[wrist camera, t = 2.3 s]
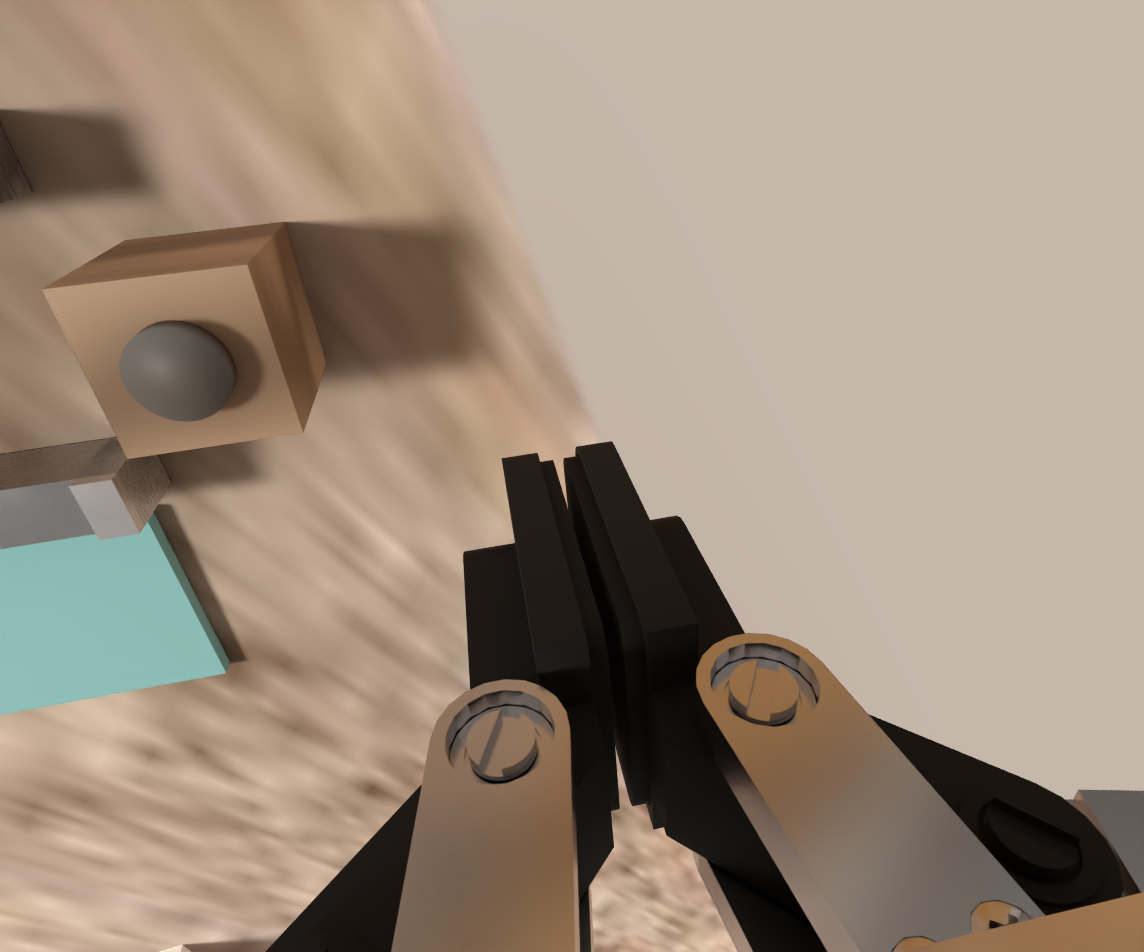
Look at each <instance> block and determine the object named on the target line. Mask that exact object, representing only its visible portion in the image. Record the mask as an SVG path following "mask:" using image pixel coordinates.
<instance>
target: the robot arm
mask: <svg viewBox="0 0 1144 952" xmlns="http://www.w3.org/2000/svg"><path fill="white" fill-rule="evenodd" d="M575 455H576V456H575V457H569V458H564V474H565V483H566V493H567V503H568V508H567V505H566V501H565V498H564V495H563V491H562V488H561V485H560V481H559V478H558V475H557V471H556V468H555V465H554V462H553V460H550V461H543V462H540V460H539V456H538V453H533V454H527V455H521V456H514V457H508V458H502V463H503V470H504V476H505V482H506V489H507V495H508V501H509V508H510V514H511V520H512V527H513V533H514V539H515V543H513V544H507V545H501V546H495V547H489V548H483V549H477V550H471V551H465V552H464V554H463V563H464V581H465V600H466V619H467V638H468V656H469V675H470V690H469V691H466V692H465V693H463V694H462V695H461V696H460V697H458V698H457V699H456V700H455V701H453V702H452V703H451V704H449V706H448V707H447V708H446V710H445V711H444V712H443V714H442V715H441V716H440V718H439V719H438V720H437V722H436V725H435V728H434V731H433V733H432V736H431V739H430V744H429V749H428V755H427V760H426V766H425V771H424V776H423V782H422V785H421V786H420V787H419V788H418V789H417V790H416V791H415V792H414V793H413V794H412V795H411V796H410V797H409V799H408V800H407V801H406V802H405V803H404V804H403V805H402V806H401V807H400V808H399V809H398V810H397V811H396V812H395V814H394V815H393V816H392V817H391V818H390V819H389V820H388V821H387V822H386V823H385V824H384V825H383V826H382V827H381V829H380V830H379V831H378V832H377V833H376V834H375V835H374V836H373V837H372V838H371V839H370V840H369V841H368V842H367V844H366V845H365V846H364V847H363V848H362V849H361V850H360V851H359V852H358V853H357V854H356V855H355V856H354V857H353V859H352V860H351V861H350V862H349V863H348V864H347V865H346V866H345V867H344V868H343V869H342V870H341V871H340V872H339V874H338V875H337V876H336V877H335V878H334V879H333V880H332V881H331V882H330V883H329V884H328V885H327V886H326V887H325V889H324V890H323V891H322V892H321V893H320V894H319V895H318V896H317V897H316V898H315V899H314V900H313V901H312V902H311V904H310V905H309V906H308V907H307V908H306V909H305V910H304V911H303V912H302V913H301V914H300V915H299V916H298V917H297V919H296V920H295V921H294V922H293V923H292V924H291V925H290V926H289V927H288V928H287V929H286V930H285V931H284V932H283V934H282V935H281V936H280V937H279V938H278V939H277V940H276V941H275V942H274V943H273V944H272V945H271V946H270V947H269V949H268V950H267V951H266V952H594V946H593V923H592V901H591V889H590V884H591V882H592V881H593V879H594V878H595V876H596V874H597V873H598V871H599V870H600V868H601V866H602V865H603V863H604V862H605V860H606V859H607V857H608V855H609V854H610V852H611V851H612V849H613V848H614V841H613V830H612V818H611V811H613V810H618V809H619V808H620V805H619V791H618V778H617V765H616V752H615V747H616V750H617V754H618V758H619V762H620V765H621V769H622V773H623V777H624V781H625V784H626V788H627V792H628V795H629V799H630V802H631V805H632V806H636V805H641V804H646V805H647V808H648V812H649V815H650V819H651V822H652V826H653V829H658V828H662V827H664V829H665V832H666V835H667V836H668V837H670V838H672V839H673V840H675V841H677V842H679V843H680V844H682V845H684V846H685V847H687V848H689V849H690V850H692V851H693V856H694V859H695V863H696V866H697V869H698V872H699V874H700V876H701V878H702V880H703V882H704V884H705V886H706V888H707V890H708V892H709V894H710V896H711V898H712V900H713V902H714V904H715V906H716V908H717V910H718V913H719V915H720V917H721V919H722V921H723V923H724V925H725V927H726V929H727V931H728V933H729V935H730V937H731V939H732V941H733V943H734V945H735V947H736V949H737V951H738V952H1144V791H1122V790H1121V791H1120V790H1078V791H1077V793H1076V795H1075V797H1074V799H1073V800H1065V799H1063V798H1062V797H1061V796H1059V795H1056V794H1055V793H1053V792H1051V791H1049V790H1047V789H1045V788H1043V787H1041V786H1039V785H1038V784H1036V783H1033V782H1031V781H1029V780H1026V779H1024V778H1021V777H1019V776H1017V775H1014V774H1012V773H1009V772H1007V771H1004V770H1002V769H1000V768H997V767H995V766H992V765H990V764H987V763H985V762H983V761H980V760H977V759H975V758H973V757H971V756H968V755H966V754H963V753H961V752H959V751H956V750H954V749H951V748H949V747H946V746H944V745H941V744H939V743H937V742H934V741H932V740H929V739H927V738H925V737H922V736H919V735H917V734H915V733H912V732H910V731H908V730H905V729H903V728H900V727H898V726H896V725H893V724H891V723H888V722H886V721H883V720H881V719H879V718H876V717H874V716H871V715H869V714H868V713H867V712H866V711H865V710H864V709H863V708H862V707H861V706H860V704H859V703H858V702H857V701H856V700H855V699H854V698H853V696H852V695H851V694H850V693H849V692H848V691H847V690H846V689H845V687H844V686H843V685H842V684H841V683H840V682H839V681H838V680H837V678H836V677H835V676H834V675H833V674H832V673H831V671H830V670H829V669H828V668H827V667H826V666H825V665H824V664H823V662H822V661H820V660H819V659H818V658H817V657H816V656H815V655H814V654H812V653H811V652H810V651H809V650H808V649H806V648H804V647H802V646H800V645H798V644H797V643H794V642H793V641H791V640H789V639H785V638H782V637H778V636H774V635H770V634H758V633H746V634H745V633H744V631H743V629H742V627H741V625H740V624H739V622H738V620H737V618H736V616H735V614H734V613H733V611H732V609H731V607H730V605H729V603H728V602H727V600H726V598H725V596H724V594H723V593H722V591H721V589H720V587H719V585H718V584H717V582H716V580H715V578H714V576H713V574H712V573H711V571H710V569H709V567H708V565H707V564H706V562H705V560H704V558H703V556H702V555H701V553H700V551H699V549H698V548H697V545H696V544H695V542H694V540H693V538H692V536H691V535H690V533H689V531H688V529H687V527H686V525H685V524H684V522H683V521H682V519H681V518H680V517H678V516H672V517H666V518H660V519H655V520H650V519H649V517H648V515H647V513H646V511H645V509H644V507H643V504H642V502H641V500H640V498H639V496H638V494H637V492H636V490H635V488H634V486H633V484H632V481H631V479H630V477H629V475H628V473H627V471H626V469H625V467H624V465H623V463H622V460H621V458H620V456H619V454H618V452H617V450H616V448H615V446H614V444H613V442H604V443H597V444H591V445H585V446H578V447H576V451H575Z"/></svg>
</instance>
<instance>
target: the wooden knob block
mask: <svg viewBox="0 0 1144 952" xmlns="http://www.w3.org/2000/svg"><path fill="white" fill-rule="evenodd" d="M42 291H43V293H44V295H45V297H46V299H47V301H48V303H49V305H50V307H51V309H52V310H53V312H54V314H55V316H56V318H57V320H58V322H59V324H60V326H61V328H62V330H63V332H64V334H65V336H66V338H67V340H68V342H69V344H70V346H71V348H72V350H73V352H74V354H75V356H76V358H77V360H78V362H79V364H80V366H81V368H82V370H83V372H84V374H85V376H86V378H87V380H88V382H89V384H90V386H91V388H92V390H93V392H94V394H95V395H96V397H97V399H98V401H99V403H100V405H101V407H102V409H103V411H104V413H105V415H106V417H107V419H108V421H109V423H110V425H111V427H112V429H113V431H114V433H115V435H116V437H117V439H118V441H119V443H120V445H121V447H122V449H123V451H124V453H125V455H126V457H127V459H131V458H138V457H145V456H151V455H158V454H165V453H171V452H178V451H185V450H191V449H198V448H205V447H212V446H218V445H225V444H232V443H238V442H245V441H252V440H258V439H265V438H272V437H279V436H285V435H292V434H299V433H303V432H304V429H305V426H306V423H307V420H308V417H309V414H310V411H311V408H312V406H313V403H314V400H315V397H316V394H317V391H318V388H319V385H320V382H321V379H322V376H323V373H324V370H325V367H326V364H327V363H326V359H325V356H324V353H323V349H322V346H321V342H320V339H319V336H318V332H317V329H316V325H315V322H314V318H313V315H312V312H311V308H310V305H309V301H308V298H307V295H306V291H305V288H304V284H303V281H302V278H301V274H300V271H299V267H298V264H297V261H296V257H295V254H294V250H293V247H292V244H291V240H290V237H289V233H288V230H287V227H286V223H285V222H280V223H272V224H263V225H254V226H246V227H237V228H228V229H220V230H211V231H202V232H194V233H185V234H176V235H168V236H159V237H150V238H142V239H133V240H125V241H123V242H121V243H120V244H118V245H116V246H115V247H113V248H111V249H110V250H108V251H106V252H104V253H103V254H101V255H99V256H98V257H96V258H94V259H93V260H91V261H89V262H88V263H86V264H84V265H82V266H81V267H79V268H77V269H76V270H74V271H72V272H71V273H69V274H67V275H66V276H64V277H62V278H60V279H59V280H57V281H55V282H54V283H52V284H50V285H49V286H47V287H45V288H44V289H42Z"/></svg>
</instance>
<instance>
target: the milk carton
mask: <svg viewBox="0 0 1144 952" xmlns="http://www.w3.org/2000/svg"><path fill="white" fill-rule="evenodd" d="M160 952H191V951H190V950H189V949H187V948H186V947H185V946H184V945H180V946H176V947H173V948H170V949H167V950H163V951H160Z"/></svg>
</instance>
